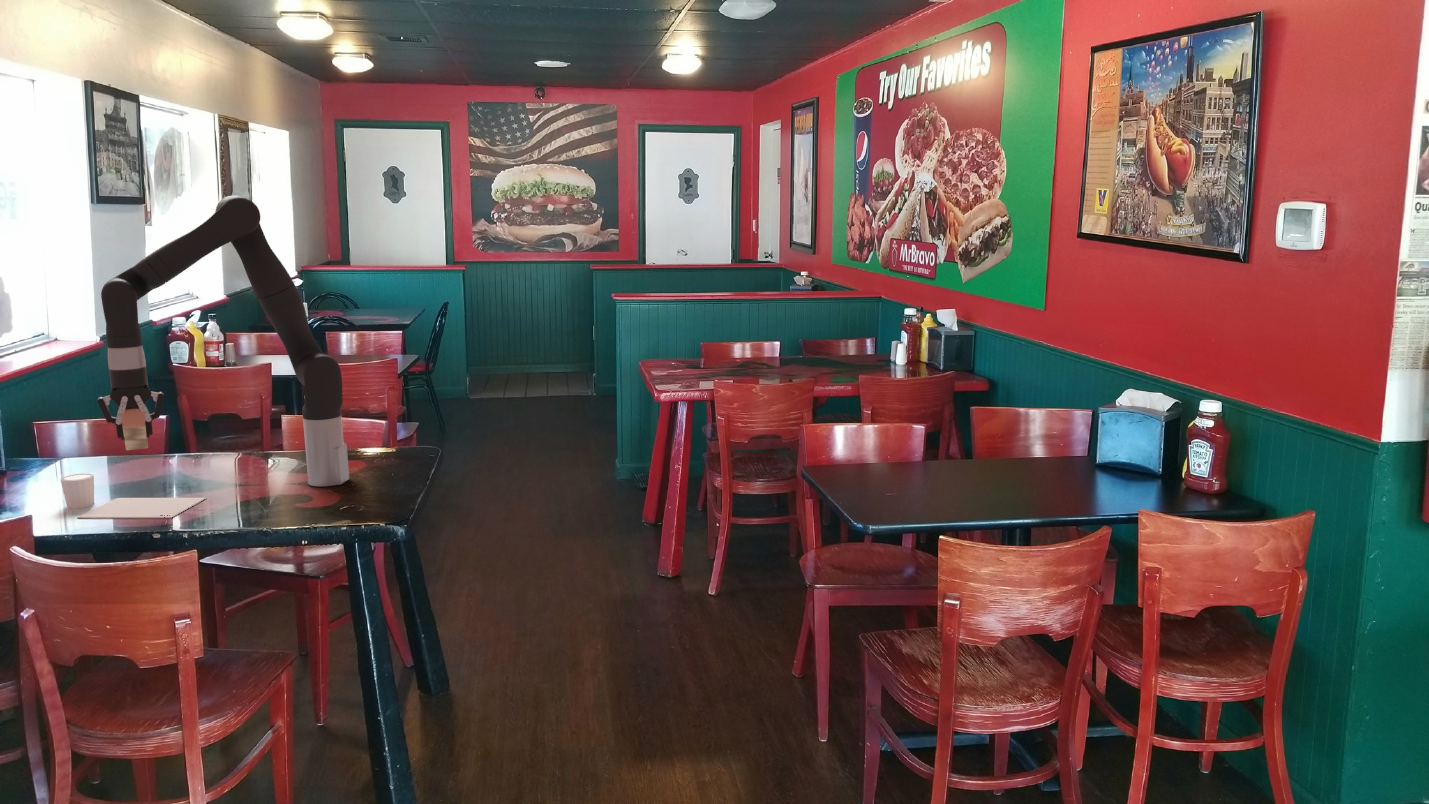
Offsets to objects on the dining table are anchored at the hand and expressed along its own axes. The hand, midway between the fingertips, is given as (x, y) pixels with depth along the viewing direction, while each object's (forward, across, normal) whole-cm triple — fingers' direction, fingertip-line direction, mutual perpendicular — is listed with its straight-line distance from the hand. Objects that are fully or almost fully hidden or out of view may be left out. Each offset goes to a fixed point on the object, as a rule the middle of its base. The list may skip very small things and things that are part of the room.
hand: (135, 437), depth 247 cm
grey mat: (+17, 0, 0) cm, 17 cm away
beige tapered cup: (+17, -13, +11) cm, 24 cm away
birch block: (+2, 0, +4) cm, 5 cm away
